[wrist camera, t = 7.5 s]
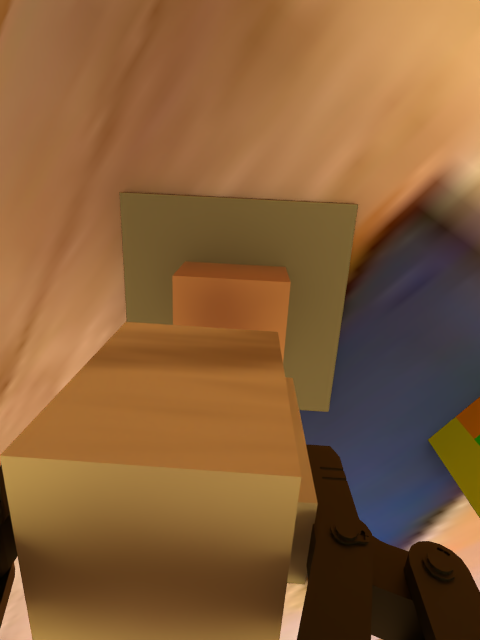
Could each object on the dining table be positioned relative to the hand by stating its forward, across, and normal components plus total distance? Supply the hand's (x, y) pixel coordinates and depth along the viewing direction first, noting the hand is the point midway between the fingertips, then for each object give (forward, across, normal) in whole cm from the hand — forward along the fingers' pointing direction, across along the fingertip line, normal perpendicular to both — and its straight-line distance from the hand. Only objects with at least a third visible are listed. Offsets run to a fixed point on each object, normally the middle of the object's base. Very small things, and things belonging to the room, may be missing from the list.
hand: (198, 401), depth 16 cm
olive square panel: (+18, +1, -1) cm, 18 cm away
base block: (+17, +1, -1) cm, 17 cm away
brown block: (0, 0, 0) cm, 0 cm away
